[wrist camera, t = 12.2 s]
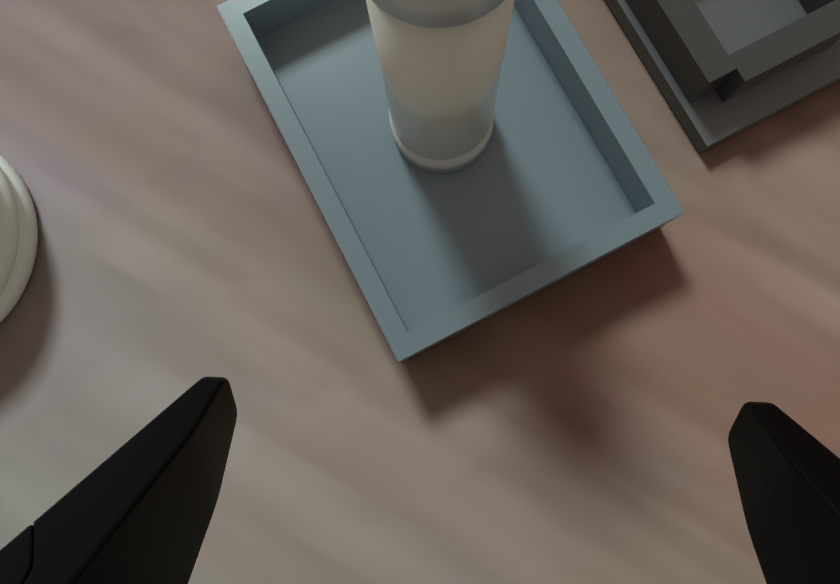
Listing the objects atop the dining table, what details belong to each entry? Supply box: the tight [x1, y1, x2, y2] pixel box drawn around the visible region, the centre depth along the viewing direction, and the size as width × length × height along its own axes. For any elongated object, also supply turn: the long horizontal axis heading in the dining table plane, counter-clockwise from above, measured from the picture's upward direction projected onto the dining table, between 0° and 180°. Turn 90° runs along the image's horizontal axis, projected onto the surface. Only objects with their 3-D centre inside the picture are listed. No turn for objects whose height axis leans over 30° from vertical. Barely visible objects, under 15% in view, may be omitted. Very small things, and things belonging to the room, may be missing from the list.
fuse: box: [366, 0, 514, 174], centre depth 19 cm, size 4×4×12 cm
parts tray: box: [217, 0, 685, 362], centre depth 24 cm, size 16×12×2 cm
